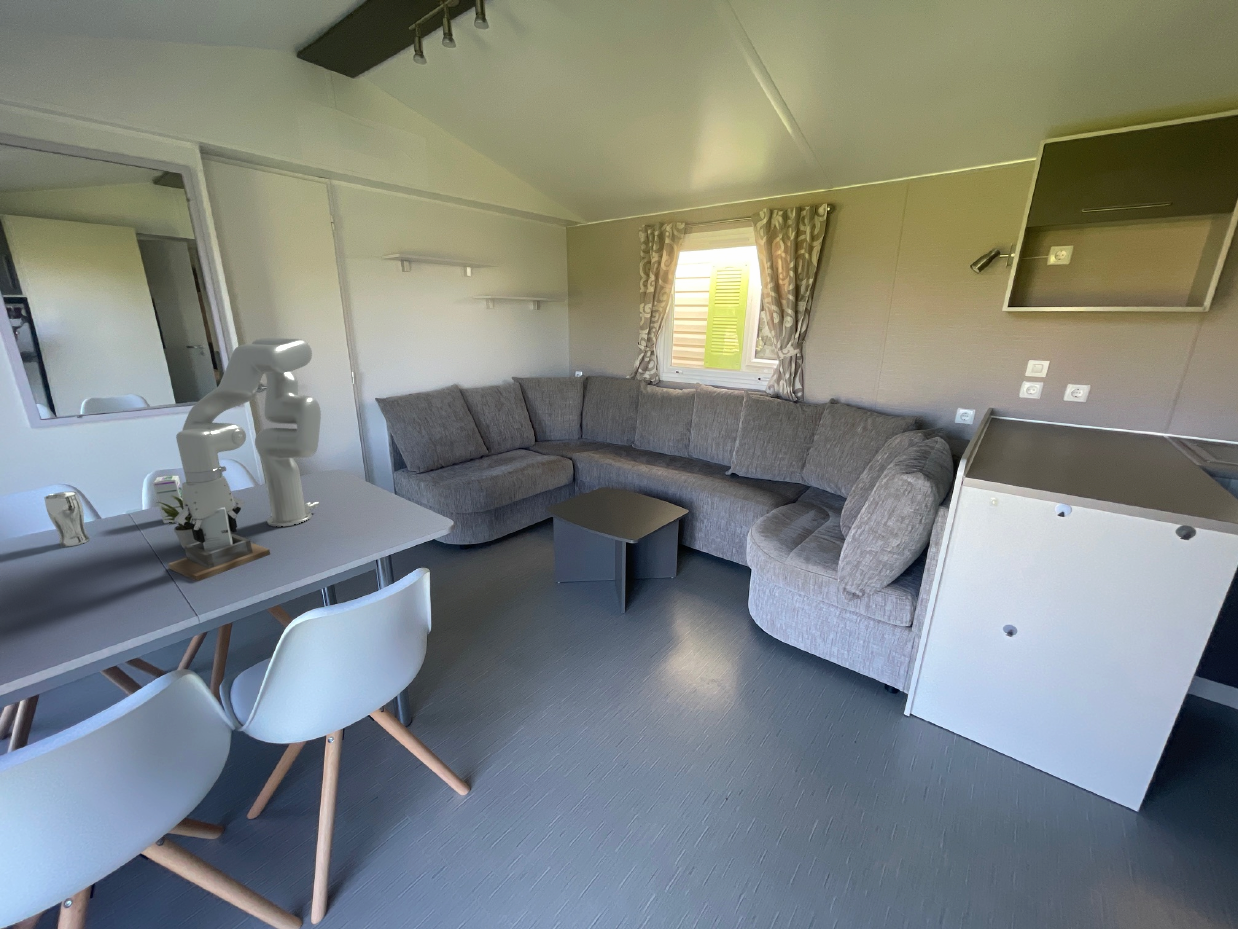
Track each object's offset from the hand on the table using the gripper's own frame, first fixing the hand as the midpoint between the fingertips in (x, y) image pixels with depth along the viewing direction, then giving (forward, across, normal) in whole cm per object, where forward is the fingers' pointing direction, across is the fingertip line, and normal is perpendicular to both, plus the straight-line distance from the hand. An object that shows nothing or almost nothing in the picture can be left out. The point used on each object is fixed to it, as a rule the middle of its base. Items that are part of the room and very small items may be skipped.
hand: (216, 535), depth 138 cm
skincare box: (+4, 0, 0) cm, 4 cm away
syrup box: (+8, -9, -45) cm, 46 cm away
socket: (+8, 0, 0) cm, 8 cm away
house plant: (+8, -3, -18) cm, 20 cm away
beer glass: (+8, +14, -49) cm, 52 cm away
